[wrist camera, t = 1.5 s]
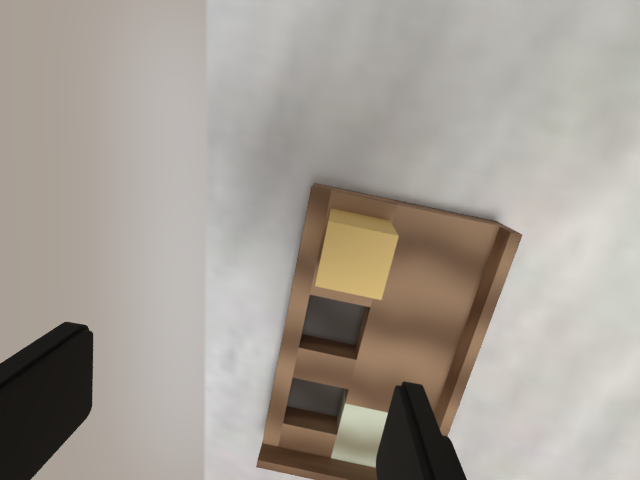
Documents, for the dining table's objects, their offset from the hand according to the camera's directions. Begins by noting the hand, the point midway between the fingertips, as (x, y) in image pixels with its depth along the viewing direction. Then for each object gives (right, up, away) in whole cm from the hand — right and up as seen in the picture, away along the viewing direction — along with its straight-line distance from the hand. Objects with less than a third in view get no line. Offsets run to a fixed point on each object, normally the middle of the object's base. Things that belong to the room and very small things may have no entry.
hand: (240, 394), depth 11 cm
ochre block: (+5, +4, +16) cm, 18 cm away
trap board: (+7, -4, +21) cm, 23 cm away
